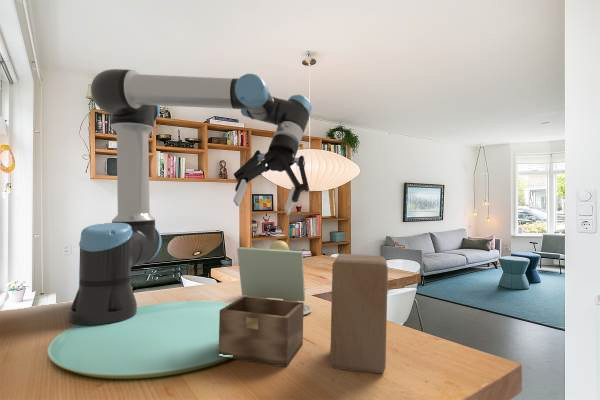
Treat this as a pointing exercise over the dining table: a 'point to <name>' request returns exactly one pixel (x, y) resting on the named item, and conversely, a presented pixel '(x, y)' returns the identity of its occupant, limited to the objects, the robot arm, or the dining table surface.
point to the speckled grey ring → (306, 308)
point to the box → (261, 330)
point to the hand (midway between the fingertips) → (260, 207)
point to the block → (359, 313)
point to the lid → (272, 272)
